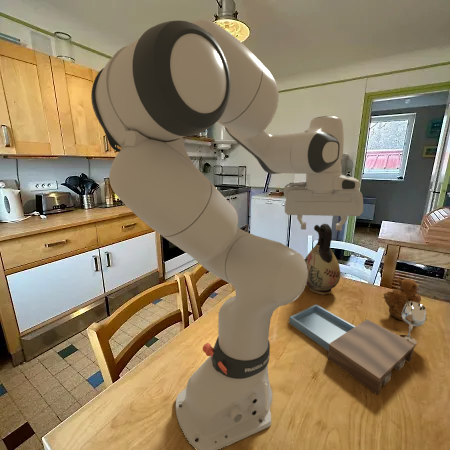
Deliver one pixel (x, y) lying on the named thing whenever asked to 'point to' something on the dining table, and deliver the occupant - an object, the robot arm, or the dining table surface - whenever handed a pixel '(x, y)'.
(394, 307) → the stuffed squirrel
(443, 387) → the dining table surface
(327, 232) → the ceramic jug
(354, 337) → the wooden drawer box
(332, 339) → the tray
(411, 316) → the wineglass
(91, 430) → the dining table surface
